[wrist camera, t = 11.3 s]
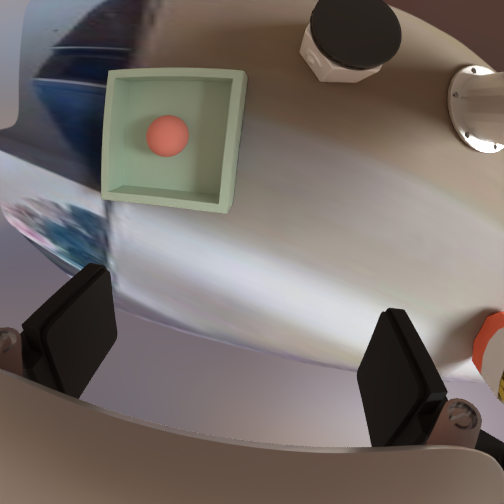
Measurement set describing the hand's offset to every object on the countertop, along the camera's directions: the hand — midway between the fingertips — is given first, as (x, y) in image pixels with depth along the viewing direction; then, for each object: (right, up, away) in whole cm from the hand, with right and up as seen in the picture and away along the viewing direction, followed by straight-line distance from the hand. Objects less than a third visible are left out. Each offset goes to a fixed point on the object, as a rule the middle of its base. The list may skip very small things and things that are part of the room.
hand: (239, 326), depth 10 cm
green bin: (-9, +17, +27) cm, 33 cm away
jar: (+10, +26, +21) cm, 35 cm away
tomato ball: (-9, +16, +24) cm, 30 cm away
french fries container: (+44, -12, +34) cm, 57 cm away
